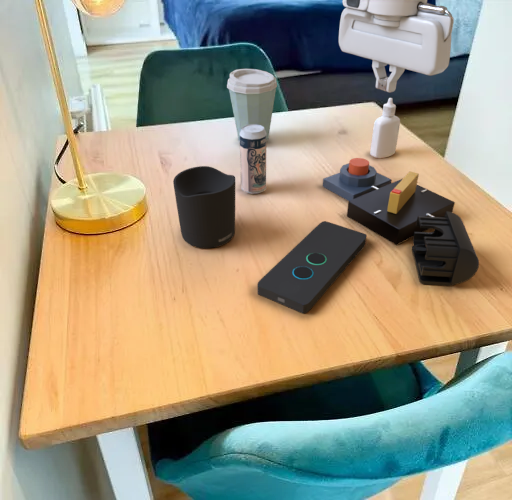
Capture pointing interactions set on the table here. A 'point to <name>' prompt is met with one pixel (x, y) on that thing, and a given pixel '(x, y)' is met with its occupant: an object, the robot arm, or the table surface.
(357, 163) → the button
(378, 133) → the eye dropper bottle
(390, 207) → the rotary switch knob
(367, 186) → the button box
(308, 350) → the table surface
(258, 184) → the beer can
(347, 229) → the smart home device
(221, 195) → the pen holder
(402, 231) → the rotary switch
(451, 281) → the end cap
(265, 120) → the disposable coffee cup
